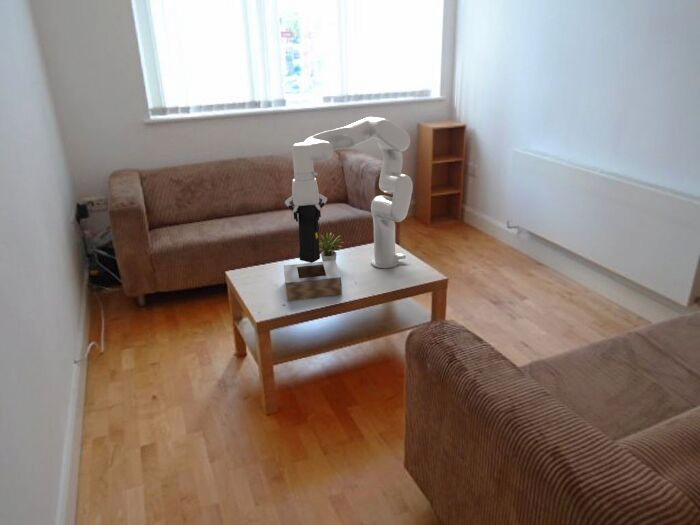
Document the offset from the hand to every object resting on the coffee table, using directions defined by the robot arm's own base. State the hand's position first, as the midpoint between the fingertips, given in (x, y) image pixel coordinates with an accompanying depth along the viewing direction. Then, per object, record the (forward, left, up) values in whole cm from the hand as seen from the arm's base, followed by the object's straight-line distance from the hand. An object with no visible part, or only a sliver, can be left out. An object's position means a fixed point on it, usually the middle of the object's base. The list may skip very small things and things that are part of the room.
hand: (307, 219), depth 204 cm
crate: (0, 0, -30) cm, 30 cm away
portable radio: (0, 0, -17) cm, 17 cm away
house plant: (-9, -21, -30) cm, 38 cm away
